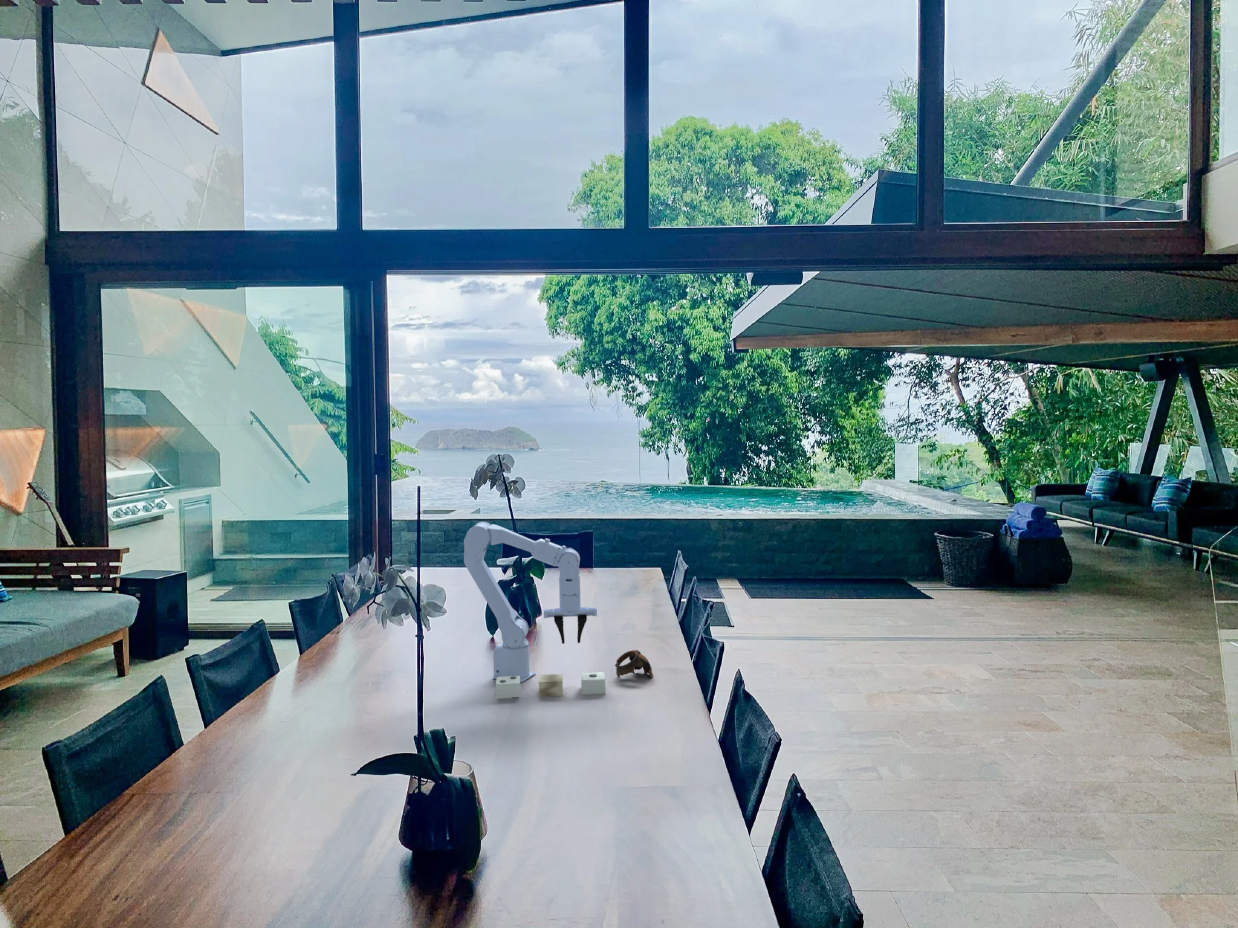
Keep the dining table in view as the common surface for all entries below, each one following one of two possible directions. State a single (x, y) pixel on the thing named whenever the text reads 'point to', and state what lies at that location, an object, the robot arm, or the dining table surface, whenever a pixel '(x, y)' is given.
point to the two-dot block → (507, 687)
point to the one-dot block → (593, 683)
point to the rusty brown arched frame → (633, 663)
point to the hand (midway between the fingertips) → (571, 642)
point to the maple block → (551, 685)
